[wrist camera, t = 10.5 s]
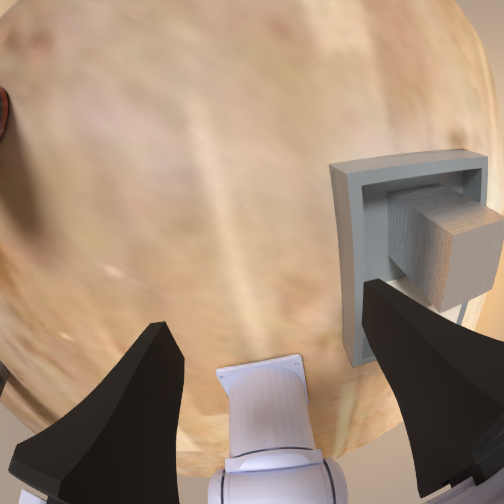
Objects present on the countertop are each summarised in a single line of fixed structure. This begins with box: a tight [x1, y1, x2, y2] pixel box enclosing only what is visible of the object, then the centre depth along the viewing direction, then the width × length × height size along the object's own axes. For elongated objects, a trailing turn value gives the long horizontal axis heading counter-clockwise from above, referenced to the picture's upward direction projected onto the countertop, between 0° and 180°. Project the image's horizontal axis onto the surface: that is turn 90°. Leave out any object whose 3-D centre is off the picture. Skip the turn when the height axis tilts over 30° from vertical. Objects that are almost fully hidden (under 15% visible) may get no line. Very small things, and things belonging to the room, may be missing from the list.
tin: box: [387, 183, 504, 314], centre depth 14 cm, size 5×5×7 cm
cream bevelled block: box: [386, 276, 462, 323], centre depth 19 cm, size 5×6×4 cm
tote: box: [329, 149, 488, 367], centre depth 18 cm, size 16×12×3 cm
